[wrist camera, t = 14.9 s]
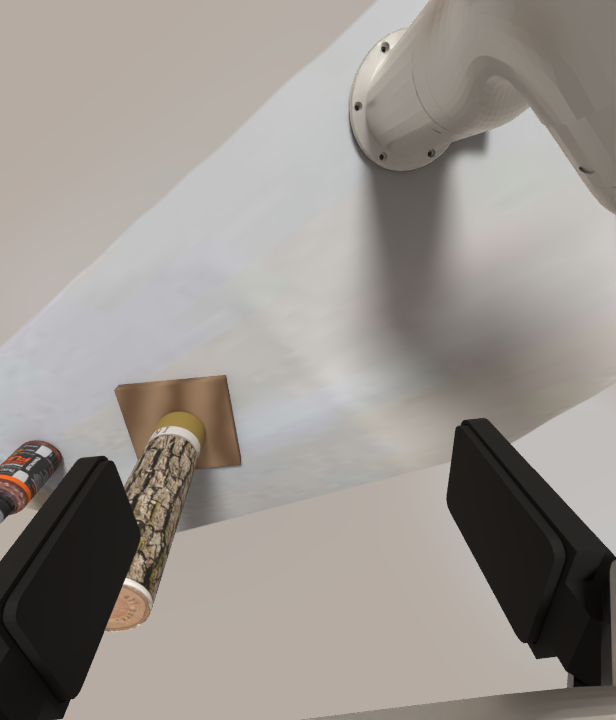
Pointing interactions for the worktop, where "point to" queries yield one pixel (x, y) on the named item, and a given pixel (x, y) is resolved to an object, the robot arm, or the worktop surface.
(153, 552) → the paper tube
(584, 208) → the worktop surface
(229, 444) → the board
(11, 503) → the supplement bottle
